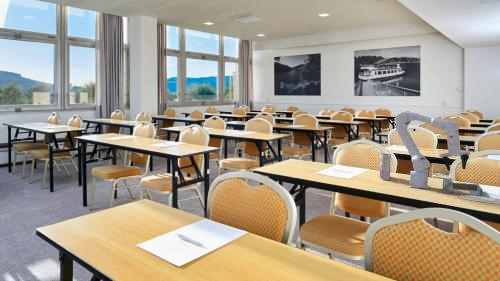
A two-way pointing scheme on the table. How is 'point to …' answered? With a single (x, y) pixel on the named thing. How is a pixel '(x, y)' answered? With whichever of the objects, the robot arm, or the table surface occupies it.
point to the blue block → (447, 185)
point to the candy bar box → (385, 165)
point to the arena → (467, 189)
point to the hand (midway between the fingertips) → (456, 169)
